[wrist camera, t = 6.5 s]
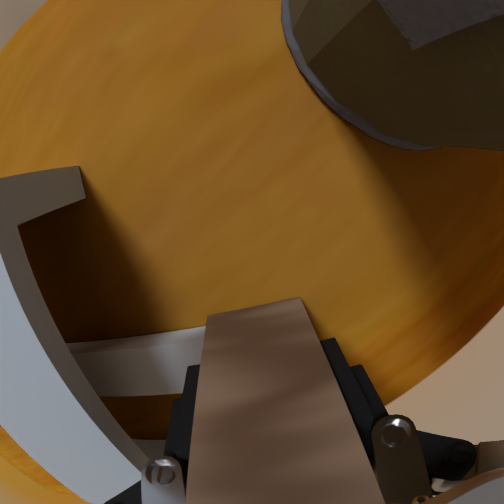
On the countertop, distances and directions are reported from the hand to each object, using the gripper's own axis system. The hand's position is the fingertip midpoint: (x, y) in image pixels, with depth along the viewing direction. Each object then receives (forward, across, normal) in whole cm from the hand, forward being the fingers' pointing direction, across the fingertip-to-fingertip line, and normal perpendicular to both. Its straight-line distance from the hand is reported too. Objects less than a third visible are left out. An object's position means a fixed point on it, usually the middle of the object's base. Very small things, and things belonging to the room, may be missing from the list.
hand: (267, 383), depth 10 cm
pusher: (+3, +6, 0) cm, 7 cm away
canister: (+3, -8, -12) cm, 15 cm away
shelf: (+3, +10, 0) cm, 10 cm away
